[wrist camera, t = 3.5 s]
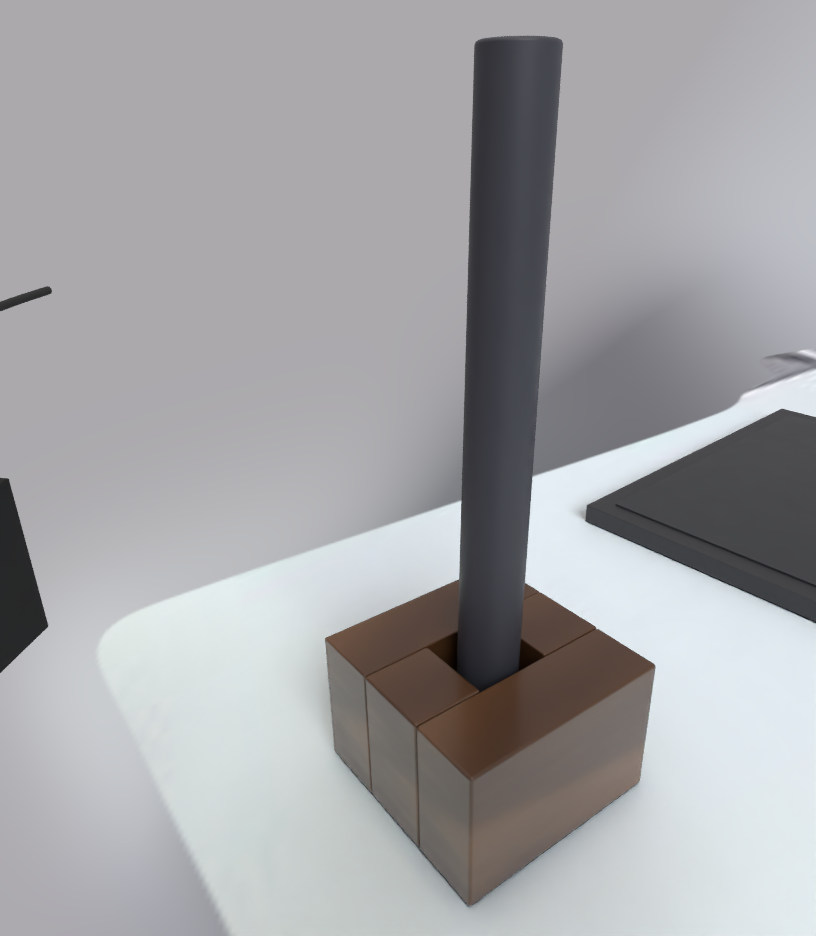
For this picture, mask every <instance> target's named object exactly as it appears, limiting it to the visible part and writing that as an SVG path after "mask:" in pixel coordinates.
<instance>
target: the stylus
mask: <svg viewBox="0 0 816 936" xmlns="http://www.w3.org/2000/svg"><path fill="white" fill-rule="evenodd" d="M474 49H475V50H474V84H473V119H472V156H471V188H470V223H469V258H468V294H467V331H466V364H465V401H464V434H463V469H462V470H463V471H462V504H461V539H460V574H459V609H458V644H457V673H459V674H460V675H461V676H462V677H463V678H465V679H466V680H467V681H468V682H470V683H471V684H472V685H473V686H474V687H476V688H477V689H478V690H479V692H482V691H484V690H485V689H487V688H489V687H491V686H493V685H494V684H496V683H498V682H500V681H502V680H504V679H505V678H507V677H509V676H511V675H513V674H514V673H516V672H518V671H519V657H520V643H521V629H522V615H523V600H524V586H525V572H526V558H527V544H528V530H529V516H530V501H531V487H532V473H533V458H534V445H535V430H536V417H537V402H538V401H537V400H538V388H539V374H540V360H541V346H542V345H541V344H542V332H543V318H544V302H545V289H546V275H547V261H548V246H549V233H550V218H551V204H552V190H553V176H554V162H555V148H556V133H557V120H558V106H559V91H560V77H561V63H562V49H563V43H562V40H560V39H558V38H555V37H545V36H504V37H491V38H484V39H480V40H478V41H476V43H475V48H474Z"/></svg>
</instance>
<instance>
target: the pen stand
mask: <svg viewBox="0 0 816 936" xmlns="http://www.w3.org/2000/svg"><path fill="white" fill-rule="evenodd" d="M458 609H459V580H457V581H454V582H452V583H450V584H448V585H445V586H443V587H441V588H438V589H436V590H434V591H432V592H429V593H427V594H425V595H422V596H420V597H418V598H416V599H413V600H411V601H409V602H406V603H404V604H402V605H400V606H397V607H395V608H393V609H391V610H388V611H386V612H384V613H381V614H379V615H377V616H375V617H372V618H370V619H368V620H365V621H363V622H361V623H359V624H356V625H354V626H352V627H349V628H347V629H345V630H343V631H340V632H338V633H336V634H334V635H331V636H329V637H327V638H325V643H326V654H327V666H328V678H329V689H330V701H331V712H332V724H333V735H334V747H335V751H336V752H337V754H338V755H339V756H340V757H341V758H342V759H343V761H344V762H345V763H346V764H347V765H348V766H349V768H350V769H351V770H352V771H353V772H354V773H355V775H356V776H357V777H358V778H359V779H360V780H361V782H362V783H363V784H364V785H365V786H366V787H367V789H368V790H369V791H370V792H371V793H373V795H374V796H375V797H376V799H377V800H378V801H379V802H380V803H381V804H382V806H383V807H384V808H385V809H386V810H387V811H388V813H389V814H390V815H391V816H392V817H393V818H394V820H395V821H396V822H397V823H398V824H399V825H400V827H401V828H402V829H403V830H404V831H405V832H406V834H407V835H408V836H409V837H410V838H411V839H412V841H413V842H414V843H415V844H416V845H417V846H418V847H420V849H421V851H422V852H423V853H424V854H425V855H426V857H427V858H428V859H429V860H430V861H431V862H432V864H433V865H434V866H435V867H436V868H437V869H438V871H439V872H440V873H441V874H442V875H443V876H444V878H445V879H446V880H447V881H448V882H449V883H450V885H451V886H452V887H453V888H454V889H455V890H456V892H457V893H458V894H459V895H460V896H461V897H462V899H463V900H464V901H465V902H466V903H467V904H468V905H469V906H472V905H473V904H474V903H476V902H477V901H478V900H480V899H481V898H482V897H484V896H485V895H487V894H488V893H489V892H491V891H492V890H493V889H495V888H496V887H497V886H499V885H500V884H501V883H503V882H504V881H506V880H507V879H508V878H510V877H511V876H512V875H514V874H515V873H516V872H518V871H519V870H521V869H522V868H523V867H525V866H526V865H527V864H529V863H530V862H531V861H533V860H534V859H535V858H537V857H538V856H540V855H541V854H542V853H544V852H545V851H546V850H548V849H549V848H550V847H552V846H553V845H554V844H556V843H557V842H559V841H560V840H561V839H563V838H564V837H565V836H567V835H568V834H569V833H571V832H572V831H573V830H575V829H576V828H578V827H579V826H580V825H582V824H583V823H584V822H586V821H587V820H588V819H590V818H591V817H592V816H594V815H595V814H597V813H598V812H599V811H601V810H602V809H603V808H605V807H606V806H607V805H609V804H610V803H612V802H613V801H614V800H616V799H617V798H618V797H620V796H621V795H622V794H624V793H625V792H626V791H628V790H629V789H631V788H632V787H633V786H635V785H636V784H637V783H639V781H640V775H641V768H642V760H643V753H644V746H645V739H646V732H647V724H648V717H649V710H650V703H651V695H652V688H653V681H654V674H655V665H654V664H653V663H652V662H650V661H648V660H647V659H645V658H644V657H642V656H640V655H639V654H637V653H635V652H634V651H632V650H631V649H629V648H627V647H626V646H624V645H623V644H621V643H619V642H618V641H616V640H615V639H613V638H611V637H610V636H608V635H607V634H605V633H603V632H602V631H600V630H599V629H596V627H595V626H593V625H592V624H590V623H589V622H587V621H585V620H584V619H582V618H581V617H579V616H577V615H576V614H574V613H573V612H571V611H569V610H568V609H566V608H565V607H563V606H561V605H560V604H558V603H556V602H555V601H553V600H552V599H550V598H548V597H547V596H545V595H544V594H542V593H539V592H538V591H537V590H536V589H534V588H532V587H531V586H529V585H527V584H526V583H525V586H524V600H523V615H522V629H521V643H520V657H519V671H518V672H516V673H514V674H513V675H511V676H509V677H507V678H505V679H504V680H502V681H500V682H498V683H496V684H494V685H493V686H491V687H489V688H487V689H485V690H484V691H482V692H479V690H478V689H477V688H476V687H474V686H473V685H472V684H471V683H470V682H468V681H467V680H466V679H465V678H463V677H462V676H461V675H460V674H459V673H457V644H458Z"/></svg>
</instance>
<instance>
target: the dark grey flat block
mask: <svg viewBox="0 0 816 936" xmlns="http://www.w3.org/2000/svg"><path fill="white" fill-rule="evenodd" d="M586 521H587V522H590V523H592V524H594V525H597V526H599V527H601V528H603V529H606V530H608V531H610V532H612V533H615V534H617V535H619V536H622V537H624V538H626V539H628V540H631V541H633V542H635V543H638V544H640V545H642V546H644V547H647V548H649V549H651V550H653V551H656V552H658V553H660V554H663V555H665V556H667V557H669V558H672V559H674V560H676V561H678V562H681V563H683V564H685V565H688V566H690V567H692V568H694V569H697V570H699V571H701V572H703V573H706V574H708V575H710V576H713V577H715V578H717V579H719V580H722V581H724V582H726V583H728V584H731V585H733V586H735V587H738V588H740V589H742V590H744V591H747V592H749V593H751V594H753V595H756V596H758V597H760V598H763V599H765V600H767V601H769V602H772V603H774V604H776V605H778V606H781V607H783V608H785V609H788V610H790V611H792V612H794V613H797V614H799V615H801V616H803V617H806V618H808V619H810V620H813V621H815V622H816V417H813V416H809V415H805V414H801V413H797V412H793V411H789V410H785V409H780V410H778V411H776V412H774V413H772V414H770V415H768V416H766V417H764V418H762V419H760V420H758V421H756V422H754V423H752V424H750V425H748V426H746V427H744V428H742V429H740V430H738V431H736V432H734V433H732V434H730V435H728V436H726V437H724V438H722V439H720V440H718V441H716V442H714V443H712V444H710V445H708V446H706V447H704V448H702V449H700V450H698V451H695V452H693V453H691V454H689V455H687V456H685V457H683V458H681V459H679V460H677V461H675V462H673V463H671V464H669V465H667V466H665V467H663V468H661V469H659V470H657V471H655V472H653V473H651V474H649V475H647V476H645V477H643V478H641V479H639V480H637V481H635V482H633V483H631V484H629V485H627V486H625V487H623V488H621V489H619V490H617V491H615V492H613V493H611V494H609V495H607V496H605V497H603V498H601V499H599V500H597V501H595V502H593V503H591V504H589V505H587V510H586Z"/></svg>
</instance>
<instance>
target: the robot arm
mask: <svg viewBox="0 0 816 936" xmlns="http://www.w3.org/2000/svg"><path fill="white" fill-rule="evenodd" d="M51 292H52V290H51V288H50V287H44V288H40V289H38V290H34V291H31V292H28V293H25V294H21V295H19V296H16V297H13V298H10V299H7V300H4V301H1V302H0V311H3V310H5V309H8V308H10V307H13V306H16V305H18V304H21V303H24V302H27V301H30V300H33V299H36V298H39V297H42V296H45V295H48V294H51ZM47 627H48V623H47V619H46V616H45V612H44V609H43V605H42V601H41V597H40V593H39V590H38V586H37V582H36V579H35V575H34V571H33V568H32V564H31V560H30V557H29V553H28V549H27V545H26V542H25V538H24V534H23V531H22V527H21V524H20V519H19V516H18V512H17V508H16V505H15V501H14V497H13V493H12V490H11V486H10V483H9V479H7V478H0V673H1V672H2V671H3V670H4V669H5V668H6V667H7V666H8V665H9V664H10V663H11V662H12V661H13V660H14V659H15V658H16V657H17V656H18V655H19V654H20V653H21V652H22V651H23V650H24V649H25V648H26V647H27V646H28V645H30V644H31V643H32V642H33V641H34V640H35V639H36V638H37V637H38V636H39V635H40V634H41V633H42V632H43V631H44V630H45V629H46V628H47Z"/></svg>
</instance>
